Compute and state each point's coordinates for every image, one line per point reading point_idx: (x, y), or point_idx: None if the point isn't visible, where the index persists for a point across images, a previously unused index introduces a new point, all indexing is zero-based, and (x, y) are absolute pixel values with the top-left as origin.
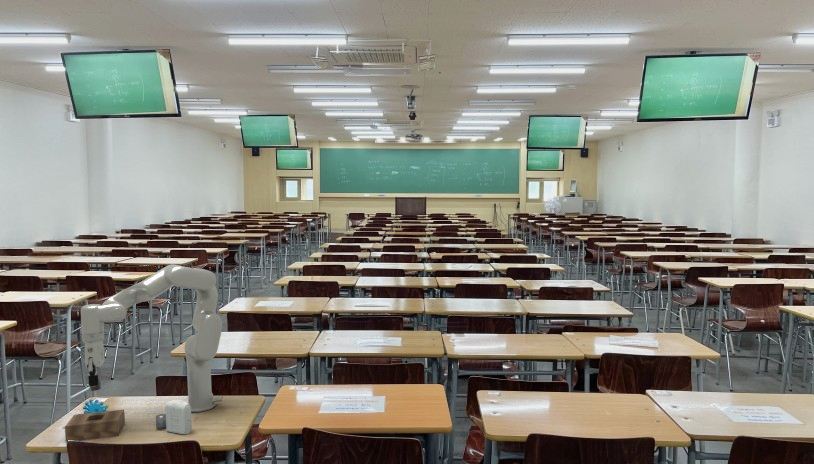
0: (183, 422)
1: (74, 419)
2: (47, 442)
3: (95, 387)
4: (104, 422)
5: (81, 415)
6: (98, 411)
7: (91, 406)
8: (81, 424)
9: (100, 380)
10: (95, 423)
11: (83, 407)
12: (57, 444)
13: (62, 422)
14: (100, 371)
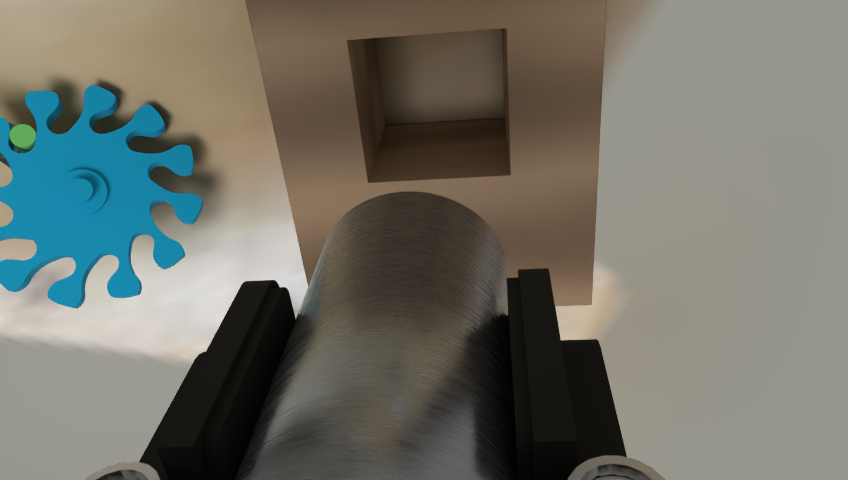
0: None
1: None
2: None
3: (504, 283)
4: None
5: None
6: (93, 165)
7: (80, 241)
8: (594, 187)
9: (403, 286)
10: (602, 61)
11: (138, 293)
12: (597, 270)
13: (191, 351)
14: (329, 457)
